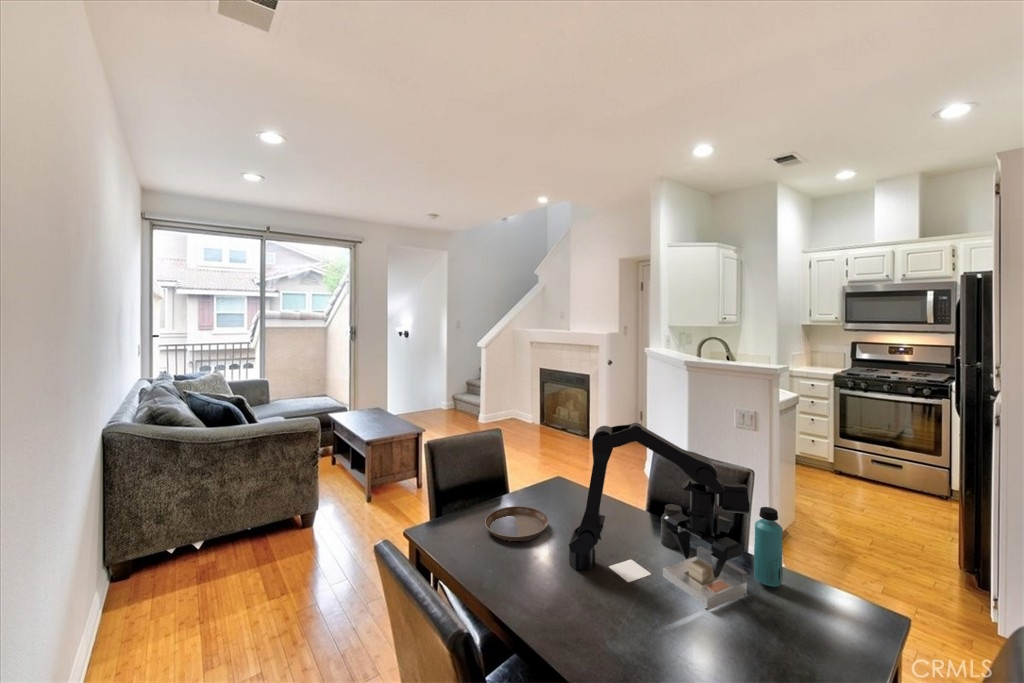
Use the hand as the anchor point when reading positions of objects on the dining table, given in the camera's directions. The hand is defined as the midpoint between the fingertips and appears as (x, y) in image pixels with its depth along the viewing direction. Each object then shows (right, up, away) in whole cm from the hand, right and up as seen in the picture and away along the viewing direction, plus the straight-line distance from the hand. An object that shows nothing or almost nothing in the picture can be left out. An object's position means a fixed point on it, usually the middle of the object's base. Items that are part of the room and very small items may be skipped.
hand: (701, 567), depth 113 cm
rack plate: (+1, -5, +1) cm, 5 cm away
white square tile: (-16, -5, +7) cm, 18 cm away
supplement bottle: (0, -4, +20) cm, 21 cm away
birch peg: (0, -5, 0) cm, 5 cm away
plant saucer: (-47, -4, +32) cm, 57 cm away
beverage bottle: (+17, -5, +1) cm, 18 cm away
